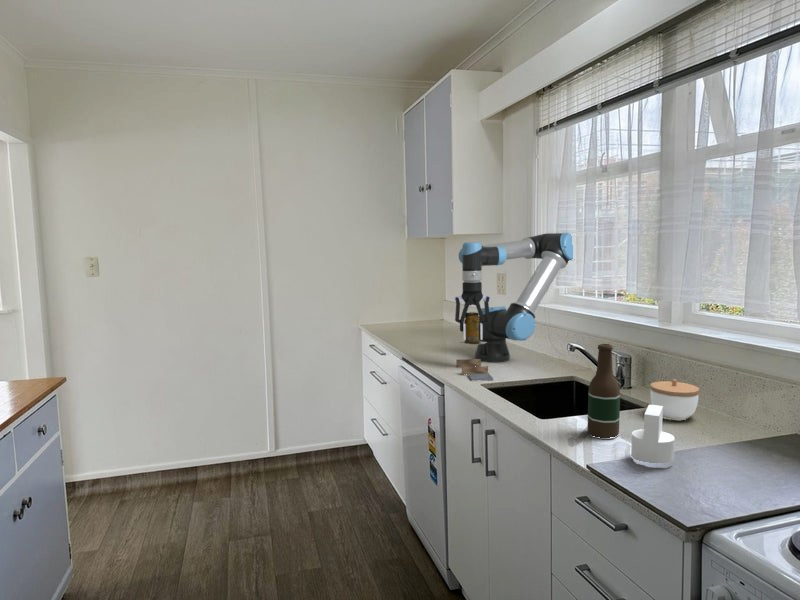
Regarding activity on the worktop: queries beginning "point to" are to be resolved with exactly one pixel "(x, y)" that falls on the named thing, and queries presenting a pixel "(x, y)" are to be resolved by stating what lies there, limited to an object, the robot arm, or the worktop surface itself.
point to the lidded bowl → (675, 398)
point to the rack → (471, 366)
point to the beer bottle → (604, 397)
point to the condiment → (472, 329)
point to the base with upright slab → (653, 439)
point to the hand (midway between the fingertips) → (472, 339)
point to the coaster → (480, 376)
